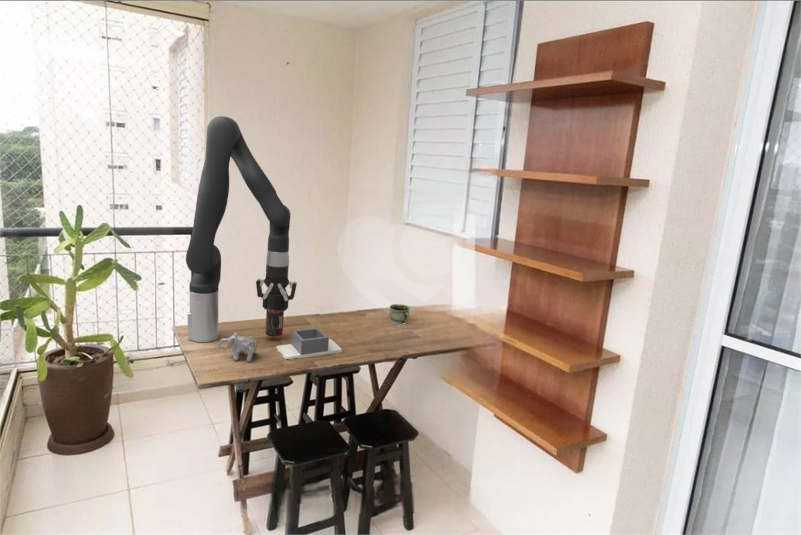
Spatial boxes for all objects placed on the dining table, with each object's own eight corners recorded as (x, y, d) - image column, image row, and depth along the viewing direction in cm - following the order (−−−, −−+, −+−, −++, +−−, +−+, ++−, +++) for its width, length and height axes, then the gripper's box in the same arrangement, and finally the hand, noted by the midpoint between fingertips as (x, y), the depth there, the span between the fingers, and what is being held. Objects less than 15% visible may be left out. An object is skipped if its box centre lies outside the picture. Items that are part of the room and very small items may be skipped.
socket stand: (285, 360, 164) (286, 343, 162) (276, 348, 172) (276, 332, 170) (342, 352, 174) (343, 335, 172) (330, 341, 182) (331, 325, 181)
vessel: (415, 324, 208) (417, 309, 207) (399, 327, 202) (401, 313, 201) (397, 315, 217) (398, 301, 215) (381, 318, 211) (382, 304, 210)
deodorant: (278, 337, 176) (280, 297, 172) (262, 335, 177) (264, 294, 173) (285, 332, 181) (287, 292, 178) (270, 329, 182) (271, 290, 179)
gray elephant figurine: (258, 363, 161) (260, 340, 159) (218, 364, 156) (219, 341, 154) (254, 352, 169) (256, 330, 167) (216, 352, 164) (218, 330, 162)
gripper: (253, 264, 169) (252, 311, 173) (297, 267, 170) (294, 314, 174) (258, 259, 176) (256, 304, 180) (300, 262, 177) (297, 307, 181)
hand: (275, 309), depth 177 cm, fingers closed on deodorant, 6 cm apart
